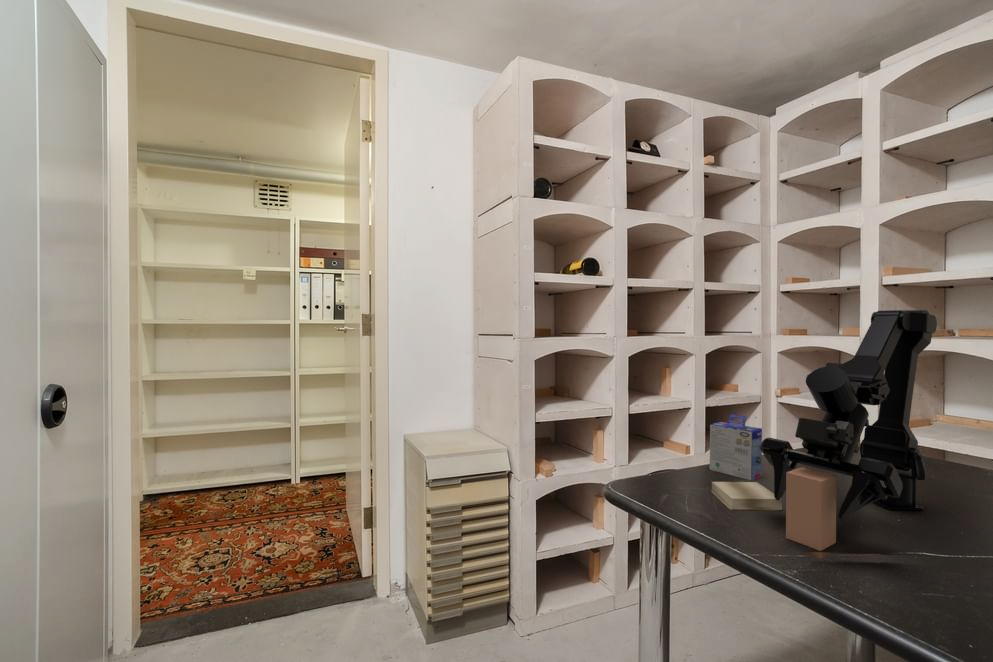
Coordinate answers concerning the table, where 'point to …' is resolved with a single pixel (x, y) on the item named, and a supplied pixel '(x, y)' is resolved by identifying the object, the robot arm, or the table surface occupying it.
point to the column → (811, 509)
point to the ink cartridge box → (736, 448)
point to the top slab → (746, 495)
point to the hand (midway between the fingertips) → (806, 508)
